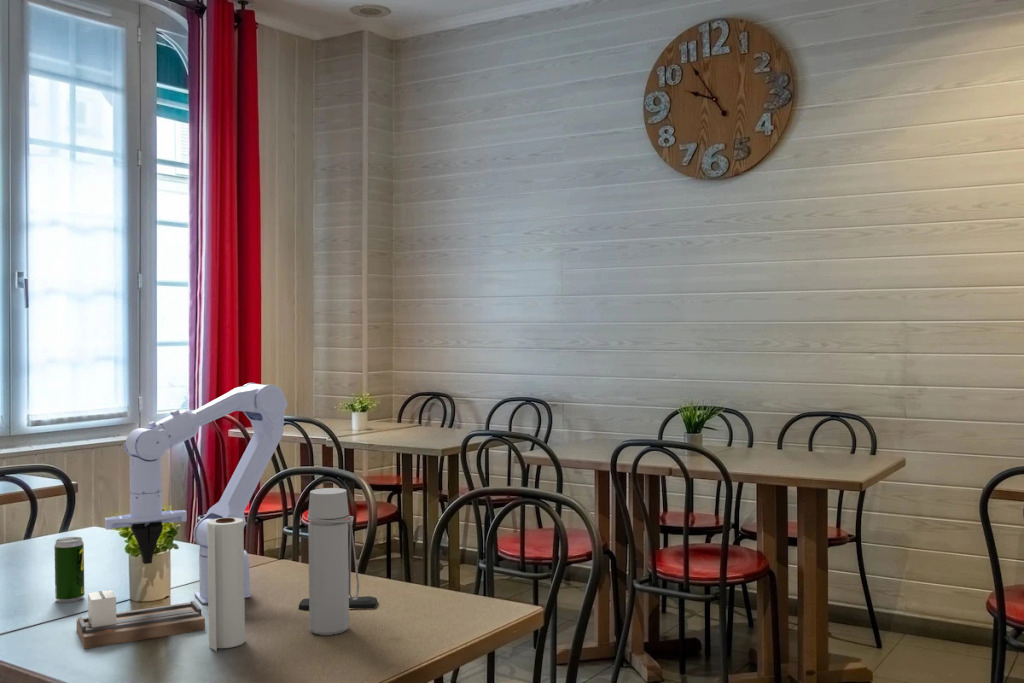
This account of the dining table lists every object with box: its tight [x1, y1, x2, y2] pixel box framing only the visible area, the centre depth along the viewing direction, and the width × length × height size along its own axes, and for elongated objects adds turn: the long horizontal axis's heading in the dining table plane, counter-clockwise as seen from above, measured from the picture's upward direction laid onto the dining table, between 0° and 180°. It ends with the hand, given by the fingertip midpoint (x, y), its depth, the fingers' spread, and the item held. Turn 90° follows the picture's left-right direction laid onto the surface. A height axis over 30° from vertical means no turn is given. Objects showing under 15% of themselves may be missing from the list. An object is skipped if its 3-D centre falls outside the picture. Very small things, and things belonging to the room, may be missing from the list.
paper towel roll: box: [207, 518, 246, 653], centre depth 168 cm, size 7×6×21 cm
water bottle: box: [306, 487, 360, 636], centre depth 175 cm, size 9×8×25 cm
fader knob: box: [87, 589, 117, 628], centre depth 173 cm, size 4×5×5 cm
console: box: [75, 600, 206, 650], centre depth 176 cm, size 20×12×3 cm, turn 120°
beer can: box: [53, 536, 85, 604], centre depth 196 cm, size 5×5×12 cm
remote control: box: [298, 595, 378, 611], centre depth 191 cm, size 5×2×15 cm
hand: (147, 562), depth 187 cm, fingers closed
